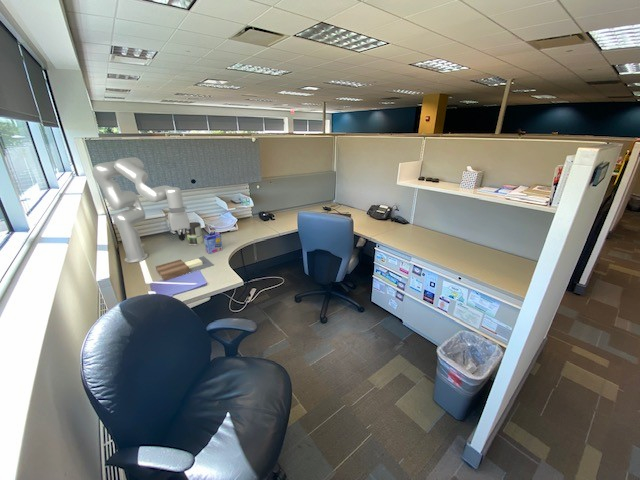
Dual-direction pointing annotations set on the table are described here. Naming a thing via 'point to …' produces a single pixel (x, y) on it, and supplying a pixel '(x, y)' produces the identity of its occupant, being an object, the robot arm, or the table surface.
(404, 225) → the table surface
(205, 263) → the mat
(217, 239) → the ink cartridge box
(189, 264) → the notepad
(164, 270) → the block
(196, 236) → the coffee can
